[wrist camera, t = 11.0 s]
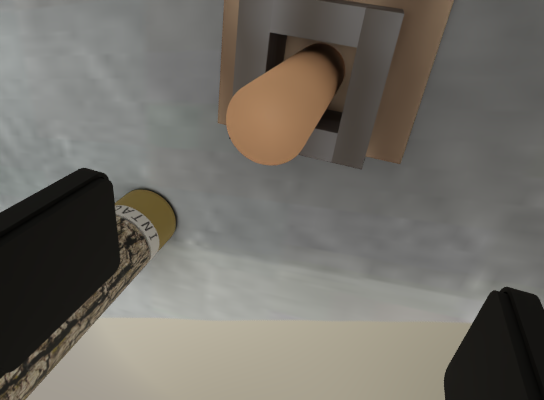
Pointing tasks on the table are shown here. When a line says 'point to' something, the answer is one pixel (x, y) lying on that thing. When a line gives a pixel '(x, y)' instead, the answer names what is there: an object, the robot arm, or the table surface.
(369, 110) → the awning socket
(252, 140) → the peg
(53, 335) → the paper tube
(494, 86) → the table surface
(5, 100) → the table surface
